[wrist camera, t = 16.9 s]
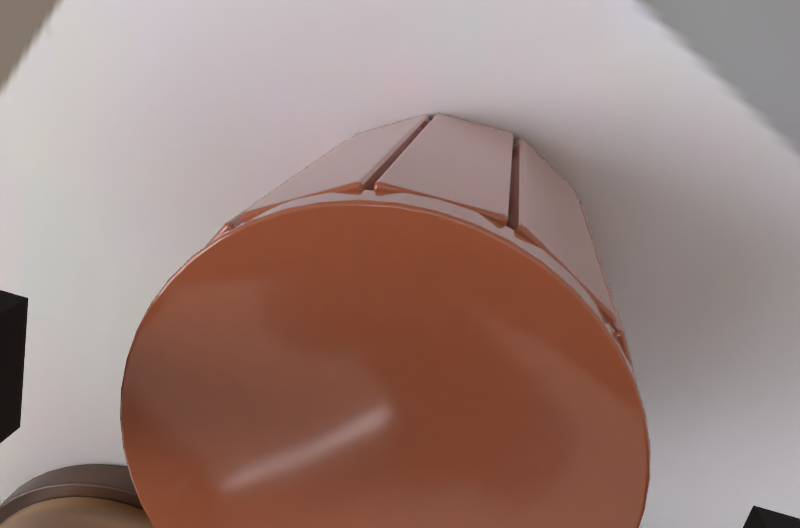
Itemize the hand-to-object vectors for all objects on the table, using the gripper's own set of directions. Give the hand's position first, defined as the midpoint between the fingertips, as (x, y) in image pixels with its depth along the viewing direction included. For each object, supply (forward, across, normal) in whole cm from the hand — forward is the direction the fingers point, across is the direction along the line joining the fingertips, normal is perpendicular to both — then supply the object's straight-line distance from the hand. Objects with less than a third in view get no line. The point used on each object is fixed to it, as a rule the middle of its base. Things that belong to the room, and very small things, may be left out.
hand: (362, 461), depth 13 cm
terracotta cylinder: (+10, 0, 0) cm, 10 cm away
